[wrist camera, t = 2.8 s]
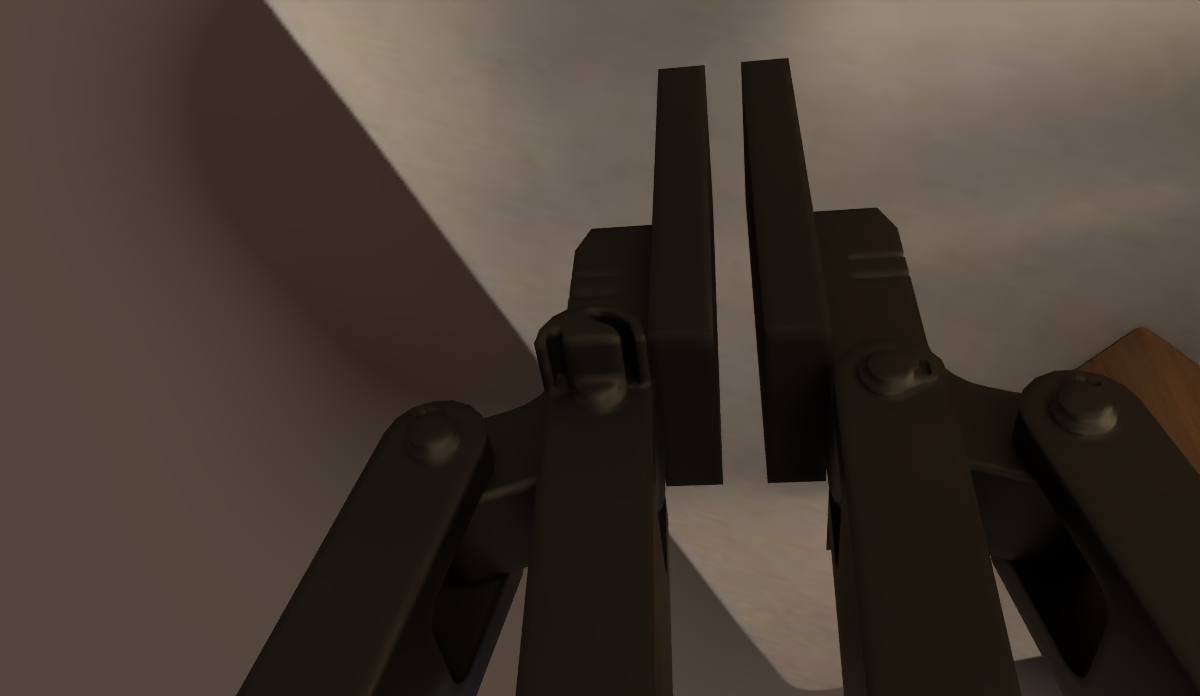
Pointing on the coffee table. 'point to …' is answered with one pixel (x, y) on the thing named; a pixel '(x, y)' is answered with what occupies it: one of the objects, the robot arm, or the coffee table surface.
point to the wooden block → (1158, 384)
